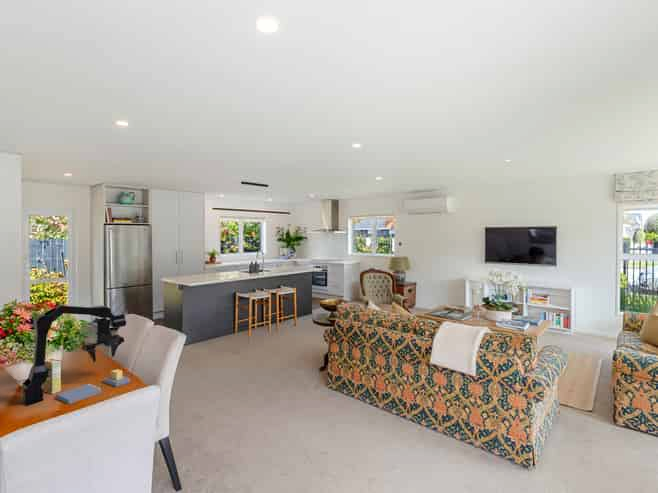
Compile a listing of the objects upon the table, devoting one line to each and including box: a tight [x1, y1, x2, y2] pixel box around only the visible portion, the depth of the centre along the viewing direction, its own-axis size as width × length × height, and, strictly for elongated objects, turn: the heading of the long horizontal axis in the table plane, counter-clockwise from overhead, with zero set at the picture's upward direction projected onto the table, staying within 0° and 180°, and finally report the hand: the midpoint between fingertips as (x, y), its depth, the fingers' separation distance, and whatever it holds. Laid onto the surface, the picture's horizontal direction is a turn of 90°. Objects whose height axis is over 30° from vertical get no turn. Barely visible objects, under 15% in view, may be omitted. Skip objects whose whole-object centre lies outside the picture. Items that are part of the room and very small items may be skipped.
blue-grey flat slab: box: [55, 383, 102, 405], centre depth 168 cm, size 14×12×2 cm
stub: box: [103, 368, 131, 388], centre depth 183 cm, size 7×12×6 cm, turn 60°
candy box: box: [42, 358, 62, 395], centre depth 173 cm, size 9×4×15 cm, turn 66°
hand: (103, 359), depth 184 cm, fingers open, 9 cm apart
